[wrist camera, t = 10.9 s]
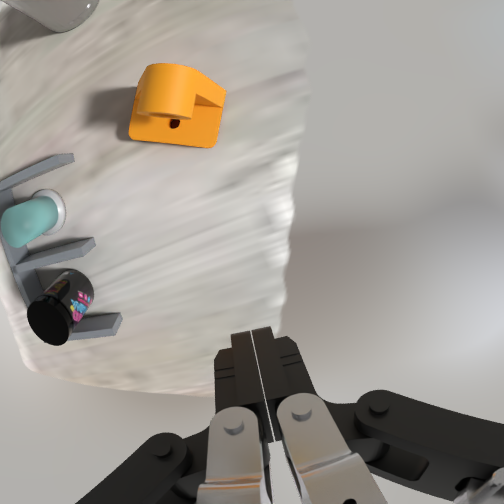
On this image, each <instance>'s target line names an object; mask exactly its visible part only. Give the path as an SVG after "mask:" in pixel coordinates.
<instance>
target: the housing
mask: <svg viewBox="0 0 504 504" xmlns="http://www.w3.org/2000/svg"><path fill="white" fill-rule="evenodd" d="M72 162H75V161H74V156H73V153H70V154H59V155H56V156H53V157H51V158H49V159H46V160H44V161H42V162H40V163H37V164H35V165H33V166H31V167H29V168H27V169H24V170H22V171H20V172H18V173H16V174H14V175H12V176H10V177H8V178H6V179H4V180H3V181H1V182H0V237H1V240H2V244H3V247H4V250H5V253H6V256H7V259H8V262H9V264H10V267H11V270H12V273H13V275H14V278H15V280H16V283H17V285H18V288H19V290H20V293H21V295H22V297H23V300H24V302H25V304H26V306H27V308H28V307H29V305H30V304H31V303H32V302H33V301H34V300H35V298H36V297H38V296H39V295H40V294H41V293H42V292H43V289H42V287H41V284H40V282H39V279H38V277H37V274H36V272H35V268H39V267H43V266H47V265H50V264H54V263H58V262H62V261H66V260H70V259H74V258H78V257H82V256H85V255H86V254H87V253H88V252H89V251H90V250H91V249H92V248H93V247H95V246H96V244H95V241H94V237H93V238H89V239H85V240H82V241H78V242H74V243H70V244H67V245H63V246H60V247H56V248H53V249H49V250H46V251H42V252H39V253H35V254H32V255H29V252H28V249H27V246H26V244H27V243H28V242H30V241H32V240H33V239H35V238H36V237H38V236H40V235H41V234H43V235H52V234H54V233H56V232H57V231H59V230H60V229H61V228H62V226H63V225H64V222H65V219H66V207H65V203H64V201H63V199H62V197H61V196H60V195H59V194H58V193H57V192H56V191H54V190H52V189H44V190H41V191H38V192H37V193H35V194H34V196H33V197H32V199H31V200H29V201H26V202H24V203H21V204H18V205H16V206H15V203H14V199H13V195H12V190H11V188H13V187H15V186H18V185H20V184H22V183H24V182H26V181H28V180H31V179H33V178H35V177H37V176H40V175H42V174H45V173H47V172H49V171H52V170H54V169H57V168H59V167H62V166H64V165H67V164H69V163H72ZM122 320H123V318H122V316H121V314H120V313H115V314H108V315H102V316H95V317H89V318H82V319H81V320H80V321H79V323H78V324H77V326H76V327H75V329H74V330H73V332H72V334H71V336H70V337H69V338H68V340H67V341H70V340H80V339H89V338H97V337H106V336H114V335H116V333H117V330H118V328H119V326H120V324H121V322H122ZM44 343H46V342H44Z"/></svg>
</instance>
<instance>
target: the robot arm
mask: <svg viewBox="0 0 504 504" xmlns="http://www.w3.org/2000/svg"><path fill="white" fill-rule="evenodd" d="M1 1H3V2H4V3H6V4H8V5H10V6H12V7H13V8H15V9H17V10H19V11H20V12H22V13H24V14H26V15H27V16H29V17H31V18H32V19H34V20H36V21H37V22H39V23H40V24H42V25H44V26H45V27H47V28H49V29H50V30H52V31H54V32H65V31H69V30H71V29H73V28H75V27H77V26H78V25H80V24H81V23H82V22H84V21H85V20H86V19H87V18H88V17H89V16H90V15H91V14H92V12H93V11H94V9H95V8H96V6H97V4H98V1H99V0H1ZM252 335H253V340H254V345H255V350H256V355H257V359H258V364H259V369H260V374H261V378H262V383H263V388H264V392H265V397H266V401H267V406H268V410H269V415H270V419H271V423H272V427H273V432H274V436H275V440H276V441H280V440H282V443H283V447H284V452H285V456H286V461H287V463H288V466H289V469H290V472H291V474H292V477H293V480H294V483H295V485H296V489H297V491H298V494H299V497H300V499H301V502H302V504H388V503H387V501H386V500H385V498H384V496H383V494H382V492H381V491H380V489H379V487H378V485H377V484H376V482H375V480H374V479H373V477H372V475H371V473H373V474H375V475H378V476H380V477H382V478H385V479H387V480H390V481H392V482H395V483H398V484H400V485H403V486H405V487H408V488H411V489H414V490H417V491H420V492H423V493H426V494H429V495H432V496H436V497H439V498H443V499H446V500H449V501H453V504H504V424H501V423H497V422H492V421H488V420H484V419H480V418H476V417H472V416H469V415H465V414H461V413H458V412H454V411H450V410H447V409H443V408H440V407H437V406H434V405H430V404H427V403H424V402H421V401H417V400H414V399H411V398H408V397H405V396H402V395H399V394H396V393H393V392H390V391H387V390H373V391H370V392H368V393H366V394H364V395H363V396H361V397H360V398H359V400H358V401H357V403H350V404H349V403H348V404H335V403H331V402H327V401H325V400H323V399H322V398H321V397H319V396H318V395H317V393H316V391H315V389H314V387H313V384H312V382H311V379H310V377H309V374H308V372H307V369H306V367H305V364H304V362H303V359H302V357H301V355H300V352H299V349H298V347H297V344H296V343H295V342H294V341H293V340H291V339H290V338H289V337H287V336H285V337H281V338H276V339H274V336H273V333H272V329H271V327H270V326H269V327H264V328H260V329H255V330H252ZM231 343H232V348H227V349H222V350H219V352H218V354H217V355H216V357H215V359H214V371H215V372H214V377H215V406H216V413H215V416H214V417H213V418H212V420H211V422H210V425H209V426H208V427H207V428H206V429H205V430H203V431H202V432H200V433H197V434H195V435H192V436H190V437H187V438H184V439H182V438H181V437H180V436H178V435H176V434H173V433H160V434H156V435H154V436H152V437H150V438H149V439H148V440H147V441H146V442H145V443H144V444H142V445H141V446H140V447H139V448H138V449H137V450H136V451H135V452H134V453H133V454H132V455H131V456H130V457H128V458H127V459H126V460H125V461H124V462H123V463H122V464H121V465H120V466H119V467H117V468H116V469H115V470H114V471H113V472H112V473H111V474H109V475H108V476H107V477H106V478H105V479H104V480H103V481H101V482H100V483H99V484H98V485H97V486H96V487H95V488H93V489H92V490H91V491H90V492H89V493H88V494H86V495H85V496H84V497H83V498H81V499H80V500H79V501H78V502H77V503H75V504H274V495H273V485H272V475H271V466H270V453H269V448H268V443H271V442H274V440H273V436H272V431H271V427H270V422H269V418H268V413H267V408H266V403H265V399H264V394H263V389H262V384H261V379H260V375H259V370H258V365H257V361H256V356H255V352H254V347H253V343H252V338H251V334H250V331H245V332H240V333H235V334H231Z"/></svg>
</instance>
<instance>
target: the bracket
mask: <svg viewBox="0 0 504 504" xmlns="http://www.w3.org/2000/svg"><path fill="white" fill-rule="evenodd" d="M225 96H226V90H224V89H223V88H222V87H220V86H219V85H217V84H216V83H215V82H213V81H212V80H210V79H209V78H208V77H206V76H205V75H203V74H202V73H200V72H199V71H197V70H196V69H193V68H190V67H187V66H183V65H178V64H168V63H159V64H152V65H149V66H147V67H146V69H145V71H144V73H143V75H142V76H141V78H140V80H139V82H138V86H137V91H136V95H135V100H134V105H133V110H132V115H131V121H130V126H129V136H130V138H132V139H133V140H141V141H152V142H161V143H171V144H179V145H187V146H195V147H203V148H211V147H213V146H214V145H215V144H216V142H217V136H218V131H219V126H220V121H221V116H222V110H223V105H224V101H225ZM174 119H180V125H179V126H178V127H177V128H175V129H172V128H171V122H172V120H174Z"/></svg>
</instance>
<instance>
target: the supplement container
mask: <svg viewBox="0 0 504 504" xmlns="http://www.w3.org/2000/svg"><path fill="white" fill-rule="evenodd" d="M93 299H94V290H93V287H92V284H91V282H90V281H89V279H88V278H87V277H86V276H85V275H84V274H82V273H81V272H79V271H75V270H67V271H65V272H63V273H62V274H61V275H60V276H59V277H58V278H56V279H55V280H54V281H53V282H52V283H51V284H50V285H49V286H48V287H47V288H46V289H45V290H44V291H43V292H42V293H41V294H40V295H39V296H38V297H36V298H35V300H34V301H33V302H32V303H31V304H30V305H29V307H28V310H27V318H28V322H29V324H30V326H31V328H32V330H33V331H34V333H35V334H36V335H37V336H38V337H39V338H40V339H41V340H43V341H44V342H46V343H48V344H50V345H55V346H59V345H63V344H64V343H65V342H66V341H67V340H68V338H69V337H70V336H71V334H72V332H73V330H74V329H75V327H76V326H77V324H78V323H79V321H80V320H81V318H82V317H83V315H84V314H85V312H86V311H87V310H88V308H89V307H90V305H91V304H92V302H93Z"/></svg>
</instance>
